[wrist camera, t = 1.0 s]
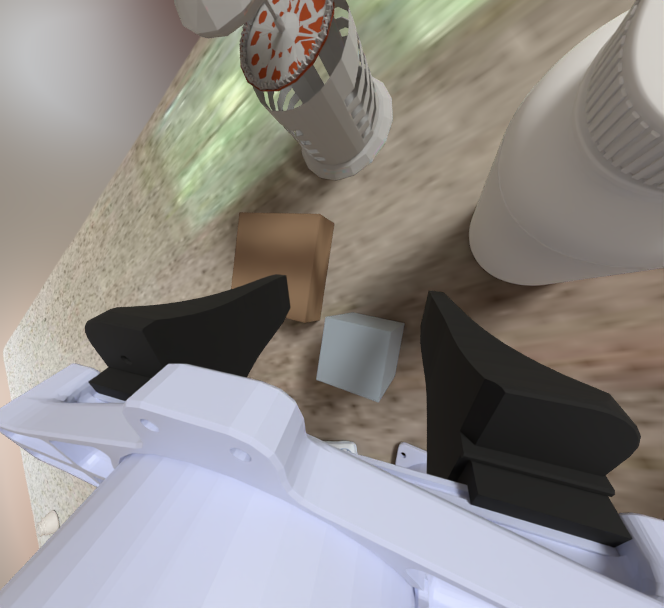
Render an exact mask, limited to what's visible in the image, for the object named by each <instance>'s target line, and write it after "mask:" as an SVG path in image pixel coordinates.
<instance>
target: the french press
mask: <svg viewBox="0 0 664 608" xmlns="http://www.w3.org/2000/svg"><path fill="white" fill-rule="evenodd" d="M174 4H175V7H176V9H177V12H178V14H179V17H180V19H181V22H182V25H183V26H185V27H186V28H188V29H190V30H191V31H193V32H194V33H196V34H198V35H199V36H201V37H205V38H215V37H223V36H228V35H229V34H231V33H232V32H234V31H235V30H236V29H238V28H239V27H240V26H242V25H243V24H244V25H243V27H242V28H243V31H242V32H241V35H242V37H241V39H240V44H239V45H240V62H241V68H242V71H243V73H244V75H245V77H246V80H247V82H248V83H249V84H251V85H252V86H253V89H254V91H255V93H256V95H257V96H258V98H259V100H260V102H261V104H262V105H263V106H264V107H265V108H266V109H267V110H268V111H269V112H270V113H271V114H272V115H273V116H274V117H275V119H276V120H277V121H278V122H279V123H280V124H282V125H283V126H284V128H285V129H286V130H287V131H288V132H289V133H290V134H291V135H292V136H293V137H294V138H295V140H296V141H297V142H298V143H299V144H300V145H301V146H302V155H303V157H304V160H305V162H306V164H307V166H308V168H309V169H310V170H311V171H312V172H314V173H315V174H316V175H317V176H319V177H320V178H325V179H331V180H339V179H342V178H346V177H349V176H353V175H355V174H356V173H358V172H359V171H360V170H362V169H363V168H364V167H366V166H367V165H368V164H370V163H371V162H372V161H373V159H374V158H375V156H376V155H377V154H378V152H379V151H380V149H381V148H382V147H383V145H384V144H385V142H386V139H387V136H388V133H389V130H390V127H391V124H392V121H393V116H392V98H391V96H390V95H389V93H388V91H387V89H386V87H385V86H384V84H383V82H381V81H379V80H377V79H375V78H373V77H372V76H371V72H370V70H369V67H368V64H367V60H366V57H365V54H364V52H363V50H362V45H361V42H360V39H359V36H358V34H357V32H356V26H355V23H354V20H353V18H352V15H351V12H350V9H349V6H348V4H347V2H346V0H174ZM336 7H340V8H342V9H344V10H347V11H348V13H349V20H348V19H346V18H344V17H339V18H337V19H335V18H334V8H336ZM344 27H347V28H349V33H348V36H344V37H342V36H341V33H340V31H339V30H340V29H342V28H344ZM357 37H358V40H359V41H358V40H357ZM358 48H359V49H360V54H359V51H358ZM318 55H319V57H320V59H321V60H322V62H323V64H324V66H325V68H326V70H327V72H328V74H329V76H330V78H329V79H328V81H327V82H326V83H325V85H324V83H323V81H322V80H321V78H320V76H319V74H318V73H317V71H316V69H315V67H314V65H313V64H314V62H315V61H316V59H317V57H318ZM363 56H364V57H363ZM364 58H365V59H364ZM359 61H360V62H361V65H362V67H361V66H359ZM364 64H365V66H366V69H365V68H364ZM369 73H370V74H369ZM291 88H293V90H294V91H295V94H294V95H293V97H292V98H291V99H290V102H289V105H288V109H287V110H286V111H283V108H282V107H283V104H284V101H285V97H286V95H287V93H288V92H289V91H290V90H291ZM280 90H281V91H280ZM264 91H267V92H268V98H269V103H270V107H271V109H272V111H271V109H270V108H269V107H268V105H267V104H266V102H265V97H264ZM274 91H280V95H279V98H278V101H277V103H278V109H279V111H276V110H275V105H274V100H273V94H274ZM299 99H301V101H302V102H303V104H302V105H301V106H299V107H297V108H295V109H294V106H295V104H296V103H297V102H298V100H299ZM293 131H296V136H295V134H294V132H293ZM291 132H292V133H293V134H292V133H291ZM298 140H299V141H300V142H301V143H300V142H299V141H298Z"/></svg>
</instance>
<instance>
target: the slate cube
mask: <svg viewBox="0 0 664 608" xmlns="http://www.w3.org/2000/svg"><path fill="white" fill-rule="evenodd" d="M404 324H405V323H401V322H396V321H392V320H387V319H382V318H377V317H372V316H368V315H363V314H358V313H347V314H341V315H335V316H329V317H326V318H325V325H324V331H323V338H322V345H321V351H320V358H319V364H318V371H317V378H316V380H319V381H321V382H324V383H327V384H330V385H332V386H335V387H338V388H341V389H343V390H346V391H349V392H351V393H354V394H357V395H360V396H362V397H365V398H368V399H371V400H373V401H376V402H379V401H380V399H381V398H382V396H383V394H384V393H385V391H386V390H387V388H388V386H389V385H390V383H391V382H392V380H393V378H394V377H395V373H396V367H397V362H398V357H399V351H400V346H401V341H402V335H403V330H404Z"/></svg>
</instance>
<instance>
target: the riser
mask: <svg viewBox="0 0 664 608" xmlns="http://www.w3.org/2000/svg"><path fill="white" fill-rule="evenodd" d="M333 229H334V223H333V222H331V221H330V220H328V219H327V218H325V217H324V216H322V215H321V214H292V213H243V212H240V213H239V222H238V231H237V240H236V250H235V259H234V268H233V277H232V286H231V289H234V288H236V287H239V286H242V285H245V284H248V283H250V282H253V281H256V280H259V279H261V278H264V277H267V276H270V275H275V274H279V275H286V276H287V284H288V291H289V299H290V306H291V308H290V310H289V312H288V314H287V316H286V318H288V319H292V320H296V321H300V322H304V323H306V322H312V321H317V320H320V316H321V309H322V303H323V296H324V289H325V283H326V276H327V269H328V263H329V256H330V249H331V242H332V236H333Z"/></svg>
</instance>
